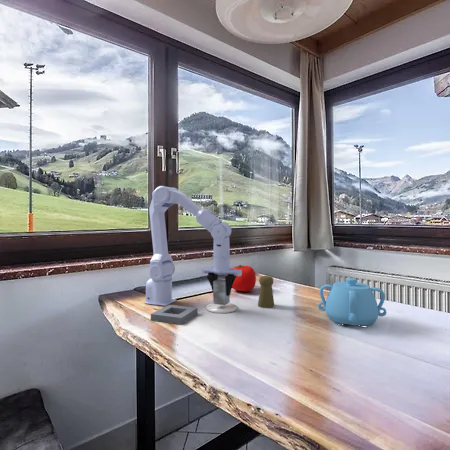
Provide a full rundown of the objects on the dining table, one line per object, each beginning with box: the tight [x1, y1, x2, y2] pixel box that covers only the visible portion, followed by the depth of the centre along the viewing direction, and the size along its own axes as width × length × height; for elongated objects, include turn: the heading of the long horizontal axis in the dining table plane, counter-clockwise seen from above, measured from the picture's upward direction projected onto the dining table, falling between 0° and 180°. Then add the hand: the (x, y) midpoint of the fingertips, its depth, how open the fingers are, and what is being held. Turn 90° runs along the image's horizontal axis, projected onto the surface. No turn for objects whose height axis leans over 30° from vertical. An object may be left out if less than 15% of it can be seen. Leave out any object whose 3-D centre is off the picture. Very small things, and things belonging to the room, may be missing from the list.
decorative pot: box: [317, 277, 387, 326], centre depth 100 cm, size 16×16×14 cm
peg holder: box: [150, 304, 198, 325], centre depth 105 cm, size 11×11×2 cm
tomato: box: [231, 264, 257, 292], centre depth 139 cm, size 12×14×11 cm
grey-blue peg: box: [212, 278, 231, 305], centre depth 114 cm, size 4×4×8 cm
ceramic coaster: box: [205, 302, 238, 314], centre depth 114 cm, size 11×11×1 cm
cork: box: [257, 275, 275, 309], centre depth 117 cm, size 6×6×11 cm
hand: (221, 294), depth 114 cm, fingers closed on grey-blue peg, 4 cm apart
